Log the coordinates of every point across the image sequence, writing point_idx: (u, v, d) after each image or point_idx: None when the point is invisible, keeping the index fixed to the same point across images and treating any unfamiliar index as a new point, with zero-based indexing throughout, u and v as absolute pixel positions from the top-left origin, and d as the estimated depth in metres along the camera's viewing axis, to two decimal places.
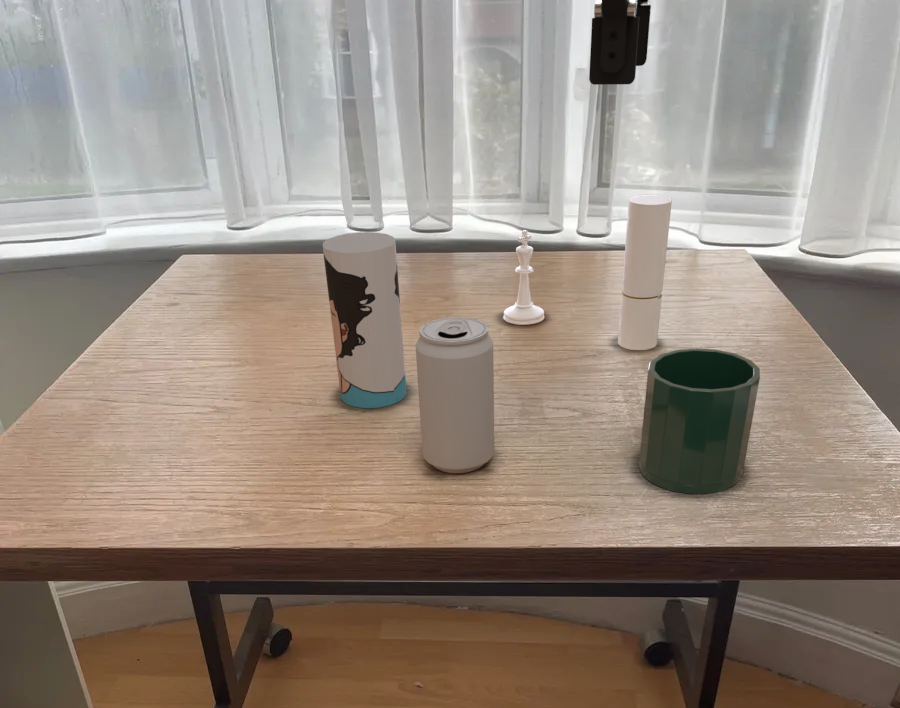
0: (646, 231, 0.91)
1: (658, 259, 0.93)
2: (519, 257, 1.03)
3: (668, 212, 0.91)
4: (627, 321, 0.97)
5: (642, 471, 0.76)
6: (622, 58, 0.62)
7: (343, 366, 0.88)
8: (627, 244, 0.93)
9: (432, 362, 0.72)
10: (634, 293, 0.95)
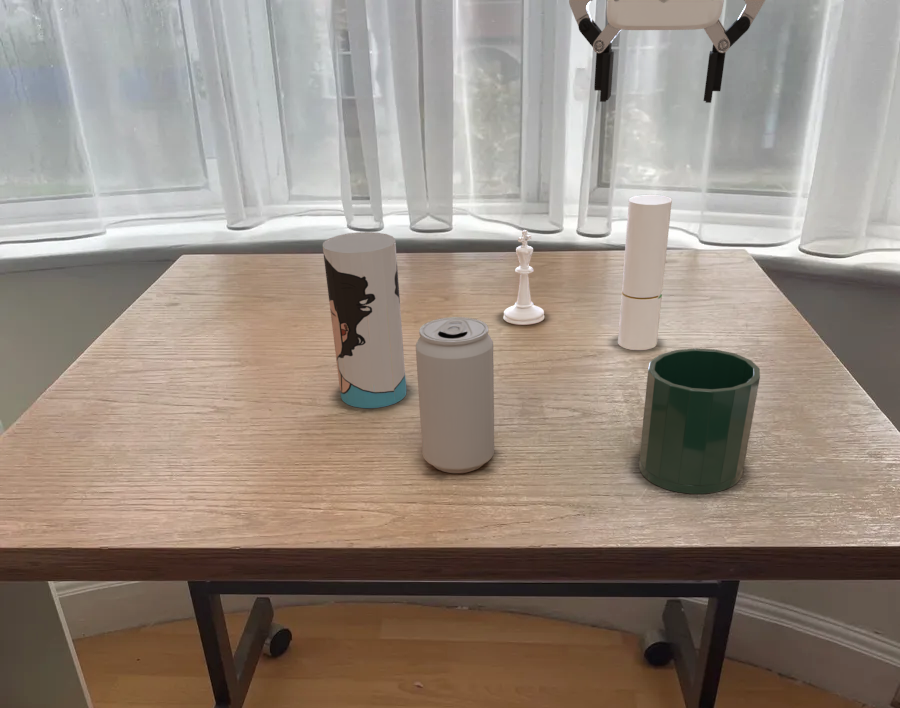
0: (646, 231, 0.91)
1: (658, 259, 0.93)
2: (519, 257, 1.03)
3: (668, 212, 0.91)
4: (627, 321, 0.97)
5: (642, 471, 0.76)
6: None
7: (343, 366, 0.88)
8: (627, 244, 0.93)
9: (432, 362, 0.72)
10: (634, 293, 0.95)
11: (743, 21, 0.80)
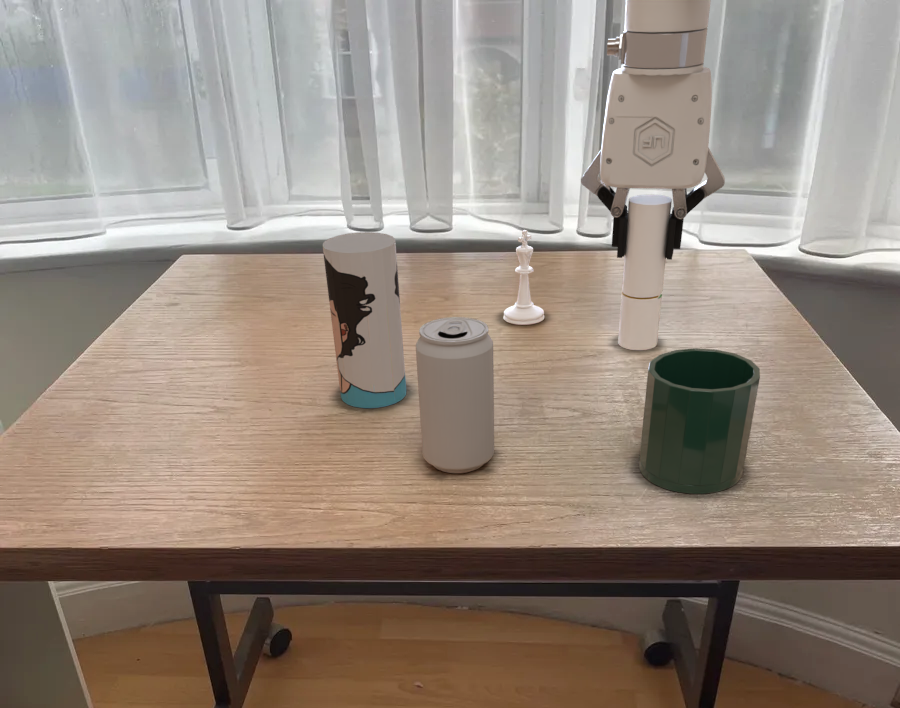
0: (646, 231, 0.91)
1: (658, 259, 0.93)
2: (519, 257, 1.03)
3: (668, 212, 0.91)
4: (627, 321, 0.97)
5: (642, 471, 0.76)
6: (612, 239, 0.94)
7: (343, 365, 0.88)
8: (627, 244, 0.93)
9: (432, 362, 0.72)
10: (634, 293, 0.95)
11: (698, 193, 0.89)
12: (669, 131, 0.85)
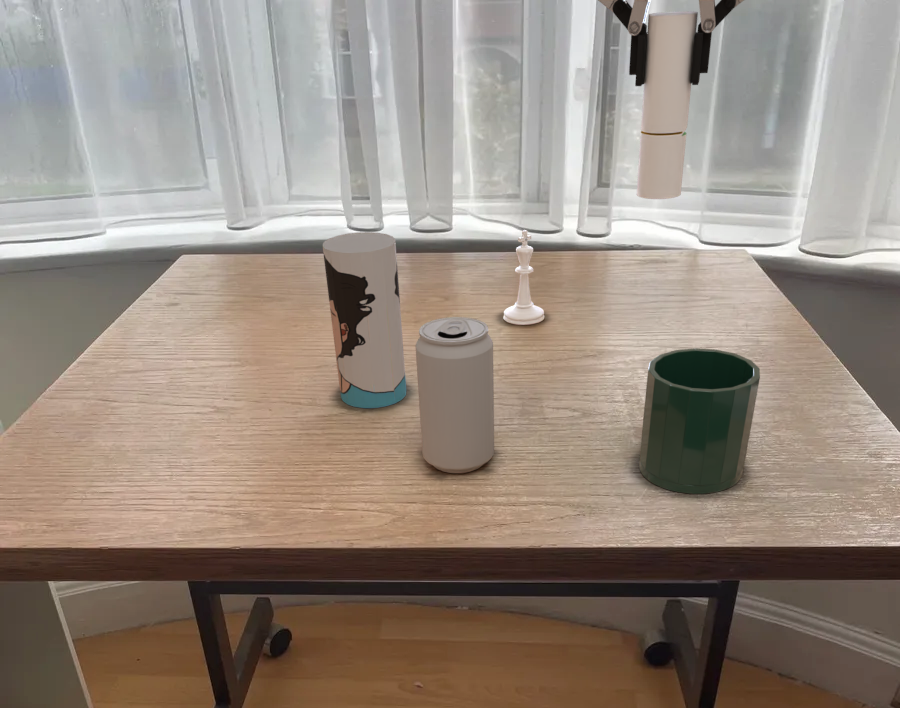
0: (668, 49, 0.80)
1: (682, 85, 0.82)
2: (519, 257, 1.03)
3: (694, 26, 0.79)
4: (646, 164, 0.86)
5: (642, 471, 0.76)
6: None
7: (343, 366, 0.88)
8: (647, 69, 0.82)
9: (432, 362, 0.72)
10: (655, 128, 0.84)
11: None
12: None
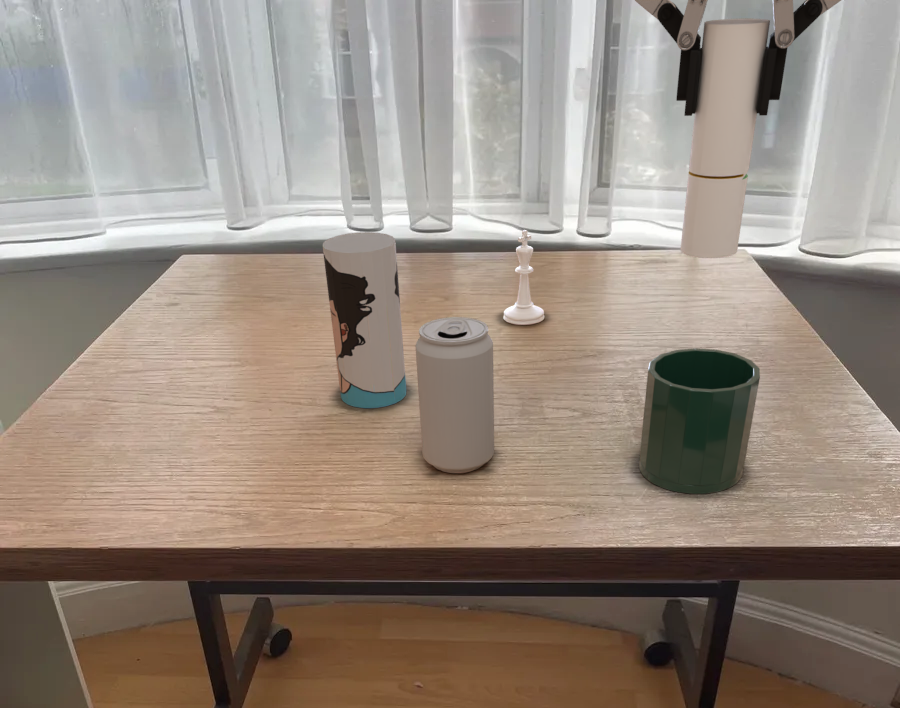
0: (731, 69, 0.61)
1: (746, 116, 0.63)
2: (519, 257, 1.03)
3: (764, 39, 0.60)
4: (696, 214, 0.67)
5: (642, 471, 0.76)
6: (677, 87, 0.63)
7: (343, 365, 0.88)
8: (700, 93, 0.63)
9: (432, 362, 0.72)
10: (709, 170, 0.65)
11: (813, 5, 0.58)
12: None
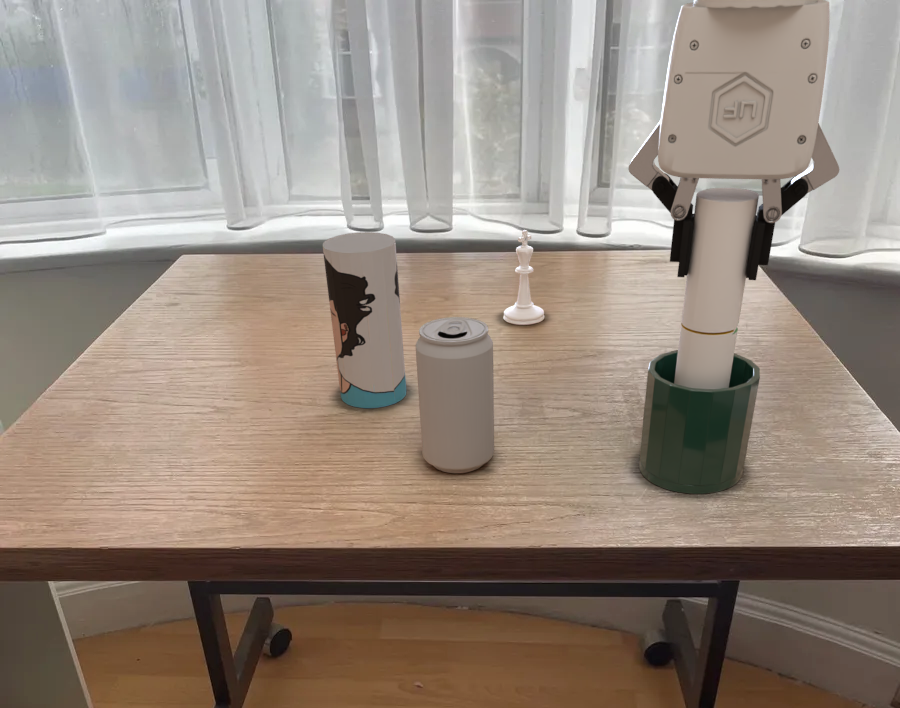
0: (721, 240, 0.64)
1: (736, 280, 0.66)
2: (519, 257, 1.03)
3: (754, 213, 0.63)
4: (688, 364, 0.70)
5: (642, 471, 0.76)
6: None
7: (343, 366, 0.88)
8: (693, 258, 0.66)
9: (432, 362, 0.72)
10: (700, 326, 0.68)
11: (799, 186, 0.62)
12: (765, 94, 0.57)
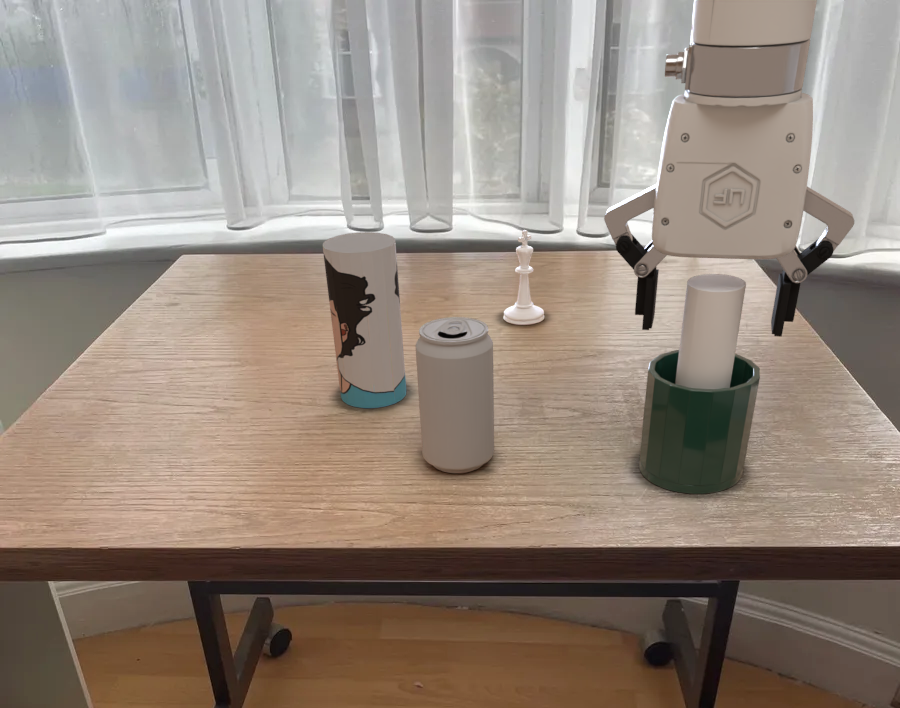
0: (711, 326, 0.67)
1: (725, 361, 0.69)
2: (519, 257, 1.03)
3: (741, 300, 0.67)
4: None
5: (642, 471, 0.76)
6: None
7: (343, 366, 0.88)
8: (684, 340, 0.70)
9: (432, 362, 0.72)
10: None
11: (825, 248, 0.63)
12: (752, 183, 0.61)
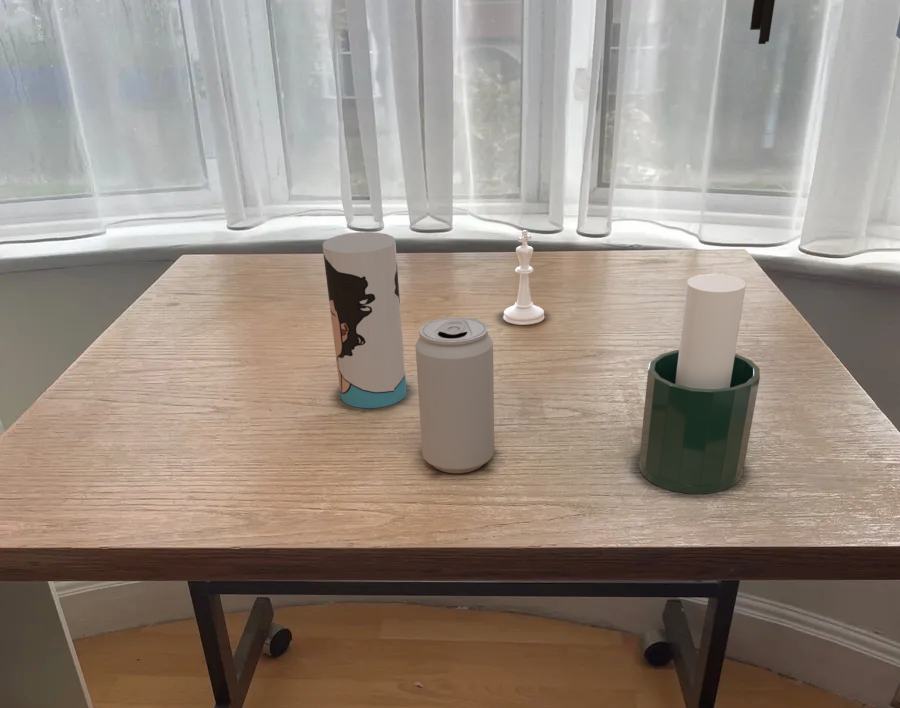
0: (711, 326, 0.67)
1: (725, 361, 0.69)
2: (519, 257, 1.03)
3: (741, 300, 0.67)
4: None
5: (642, 471, 0.76)
6: None
7: (343, 366, 0.88)
8: (684, 340, 0.70)
9: (432, 362, 0.72)
10: None
11: None
12: None
